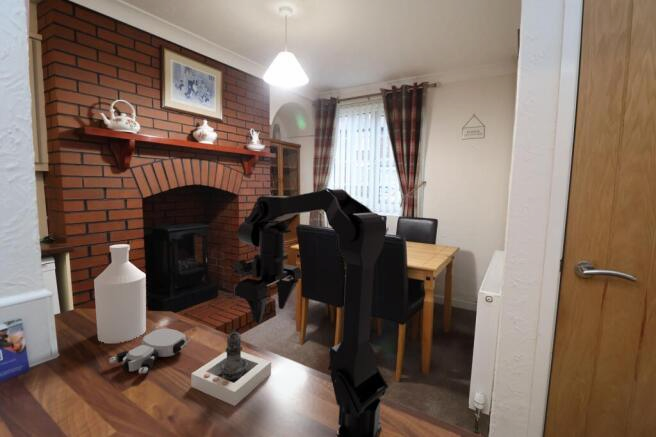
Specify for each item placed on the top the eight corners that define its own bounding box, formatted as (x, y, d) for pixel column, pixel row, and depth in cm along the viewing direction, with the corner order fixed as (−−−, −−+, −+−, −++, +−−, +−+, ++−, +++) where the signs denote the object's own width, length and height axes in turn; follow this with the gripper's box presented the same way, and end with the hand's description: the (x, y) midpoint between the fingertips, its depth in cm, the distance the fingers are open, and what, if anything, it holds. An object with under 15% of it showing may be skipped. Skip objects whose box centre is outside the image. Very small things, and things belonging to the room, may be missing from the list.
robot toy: (144, 386, 69) (195, 348, 82) (143, 367, 68) (194, 332, 81) (105, 372, 73) (160, 338, 87) (103, 354, 72) (159, 323, 86)
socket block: (270, 373, 73) (271, 360, 73) (234, 405, 62) (234, 390, 62) (231, 359, 78) (231, 347, 78) (191, 386, 67) (191, 372, 67)
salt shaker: (213, 385, 68) (213, 332, 67) (230, 370, 74) (230, 321, 73) (237, 391, 67) (237, 337, 65) (252, 375, 72) (253, 326, 71)
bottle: (91, 332, 88) (87, 244, 85) (139, 320, 97) (136, 240, 94) (102, 348, 80) (98, 252, 77) (153, 333, 89) (151, 246, 86)
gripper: (267, 240, 84) (266, 296, 86) (214, 253, 67) (214, 322, 69) (303, 245, 79) (301, 304, 81) (256, 260, 63) (255, 335, 65)
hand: (270, 315), depth 74 cm, fingers open, 9 cm apart
